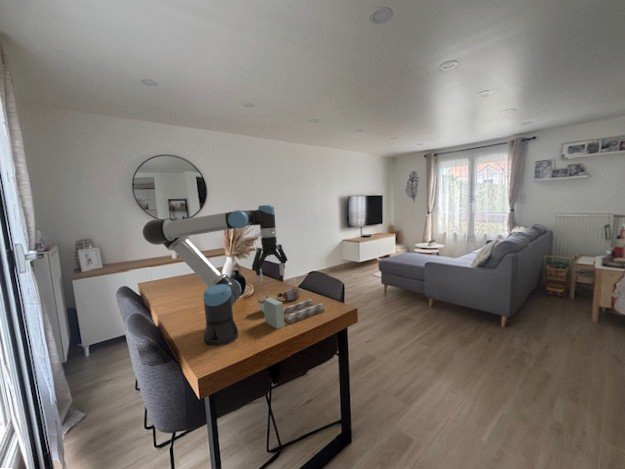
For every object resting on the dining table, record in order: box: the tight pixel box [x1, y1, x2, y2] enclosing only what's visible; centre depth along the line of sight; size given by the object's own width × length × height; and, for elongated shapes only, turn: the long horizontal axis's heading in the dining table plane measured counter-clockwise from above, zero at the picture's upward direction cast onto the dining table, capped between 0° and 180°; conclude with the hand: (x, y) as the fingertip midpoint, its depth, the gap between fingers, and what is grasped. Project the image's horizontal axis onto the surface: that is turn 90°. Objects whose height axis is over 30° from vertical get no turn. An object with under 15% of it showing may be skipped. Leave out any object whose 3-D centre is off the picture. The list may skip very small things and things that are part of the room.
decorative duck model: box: [276, 287, 302, 302], centre depth 166 cm, size 15×8×15 cm
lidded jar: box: [257, 294, 278, 314], centre depth 147 cm, size 11×11×9 cm
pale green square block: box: [263, 297, 285, 330], centre depth 130 cm, size 4×12×12 cm, turn 39°
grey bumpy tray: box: [283, 299, 325, 325], centre depth 141 cm, size 22×13×4 cm, turn 129°
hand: (271, 278), depth 130 cm, fingers open, 13 cm apart
